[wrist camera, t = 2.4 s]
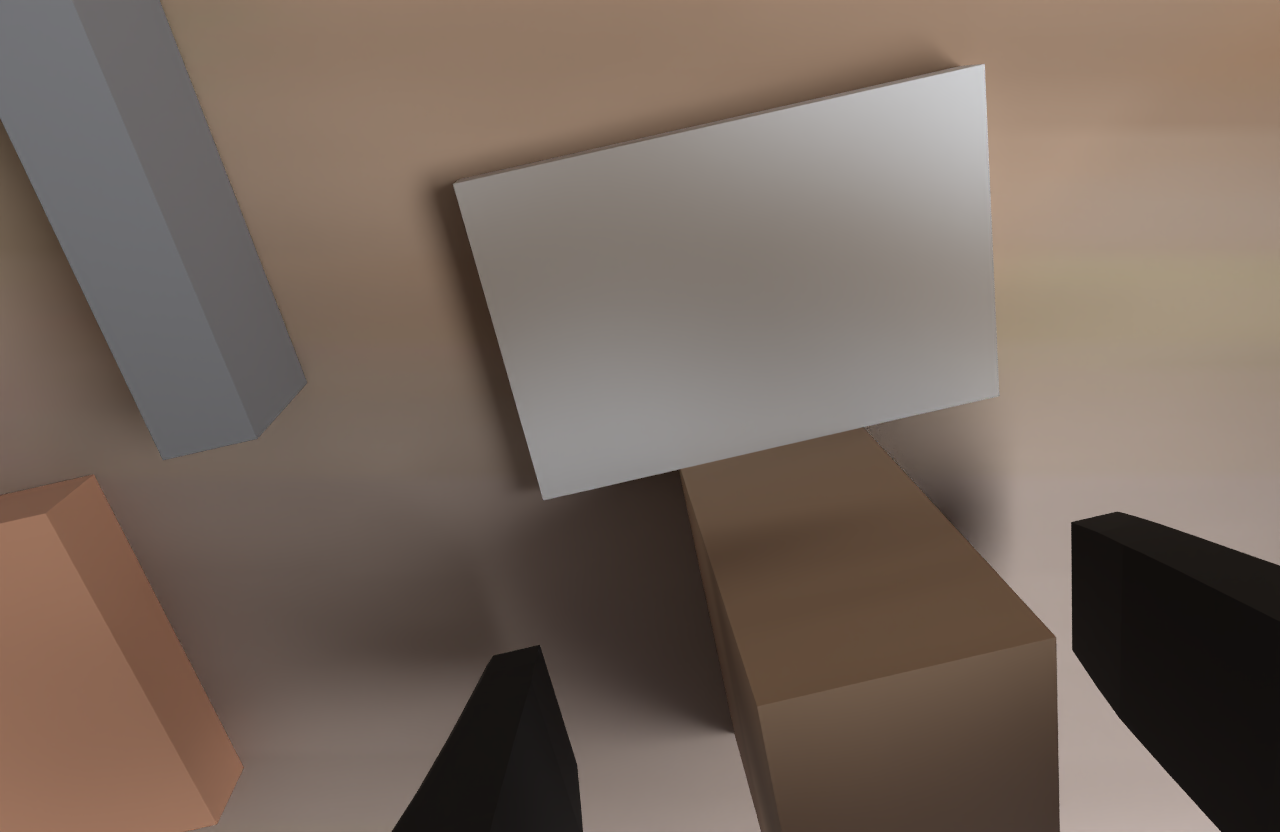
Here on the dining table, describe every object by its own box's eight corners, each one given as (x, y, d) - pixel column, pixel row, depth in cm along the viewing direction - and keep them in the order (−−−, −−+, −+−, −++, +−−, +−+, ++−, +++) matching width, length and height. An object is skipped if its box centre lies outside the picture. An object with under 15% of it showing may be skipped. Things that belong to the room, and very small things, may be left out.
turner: (993, 672, 13) (1236, 995, 8) (622, 758, 13) (657, 1132, 8) (959, 65, 10) (1336, 35, 5) (458, 178, 10) (362, 254, 5)
